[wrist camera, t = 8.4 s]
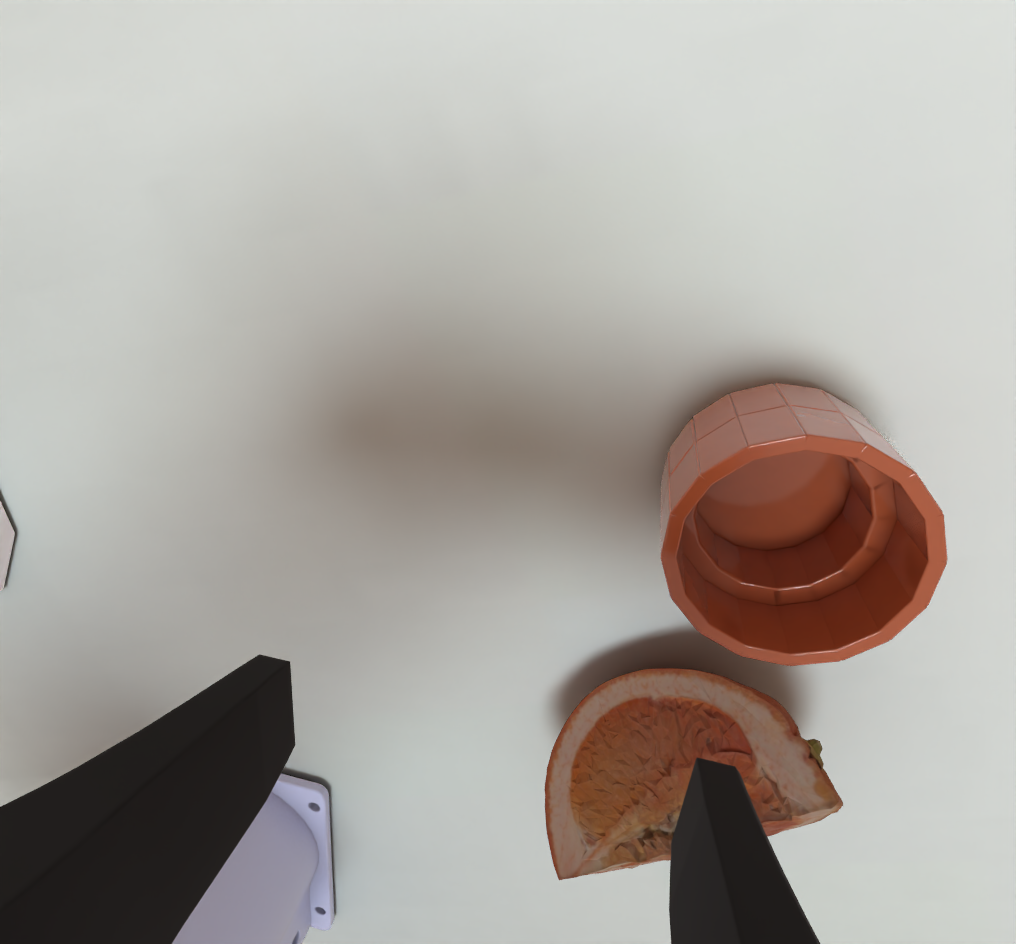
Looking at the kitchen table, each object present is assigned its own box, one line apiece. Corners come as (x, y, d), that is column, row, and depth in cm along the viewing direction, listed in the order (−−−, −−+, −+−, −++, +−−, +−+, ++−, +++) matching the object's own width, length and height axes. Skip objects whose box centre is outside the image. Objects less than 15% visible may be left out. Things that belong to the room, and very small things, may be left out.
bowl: (842, 581, 18) (892, 688, 14) (646, 546, 19) (642, 636, 15) (910, 395, 16) (993, 461, 12) (683, 364, 17) (691, 416, 13)
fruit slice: (755, 596, 19) (785, 719, 15) (852, 754, 21) (906, 910, 16) (527, 685, 22) (494, 807, 18) (625, 816, 24) (617, 960, 19)
